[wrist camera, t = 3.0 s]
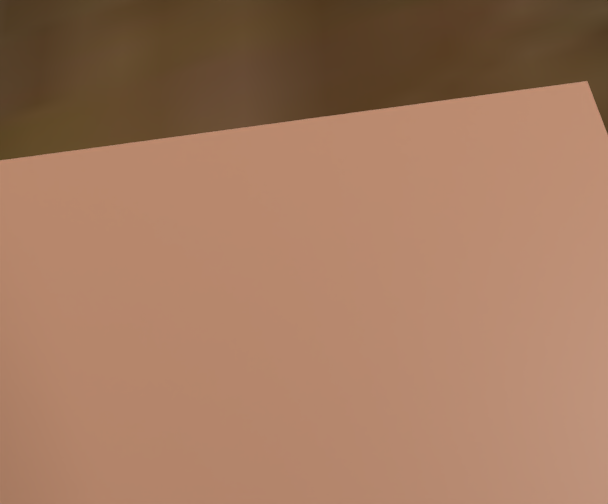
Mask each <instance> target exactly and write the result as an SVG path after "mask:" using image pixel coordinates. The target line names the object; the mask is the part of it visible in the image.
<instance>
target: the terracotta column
mask: <svg viewBox="0 0 608 504" xmlns="http://www.w3.org/2000/svg"><path fill="white" fill-rule="evenodd" d="M0 504H608V135H607V132H606V129H605V127H604V124H603V122H602V119H601V116H600V114H599V111H598V108H597V106H596V103H595V100H594V98H593V95H592V92H591V90H590V87H589V84H588V82H587V81H584V82H577V83H570V84H562V85H555V86H548V87H540V88H533V89H525V90H518V91H511V92H503V93H496V94H488V95H481V96H474V97H466V98H459V99H452V100H444V101H437V102H429V103H422V104H415V105H407V106H400V107H392V108H385V109H378V110H370V111H363V112H356V113H348V114H341V115H333V116H326V117H319V118H311V119H304V120H296V121H289V122H282V123H274V124H267V125H260V126H252V127H245V128H237V129H230V130H223V131H215V132H208V133H200V134H193V135H186V136H178V137H171V138H164V139H156V140H149V141H141V142H134V143H127V144H119V145H112V146H104V147H97V148H90V149H82V150H75V151H67V152H60V153H53V154H45V155H38V156H31V157H23V158H16V159H8V160H1V161H0Z"/></svg>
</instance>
